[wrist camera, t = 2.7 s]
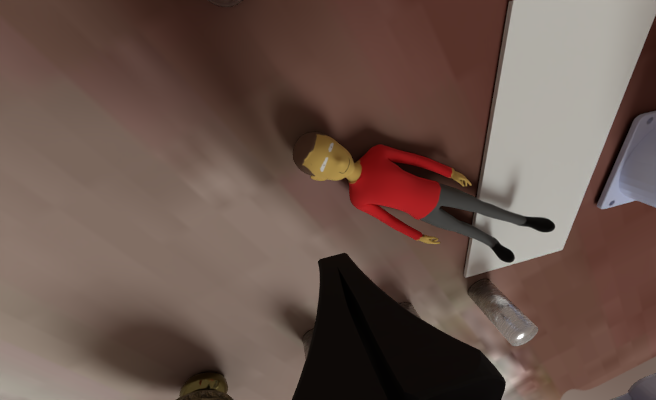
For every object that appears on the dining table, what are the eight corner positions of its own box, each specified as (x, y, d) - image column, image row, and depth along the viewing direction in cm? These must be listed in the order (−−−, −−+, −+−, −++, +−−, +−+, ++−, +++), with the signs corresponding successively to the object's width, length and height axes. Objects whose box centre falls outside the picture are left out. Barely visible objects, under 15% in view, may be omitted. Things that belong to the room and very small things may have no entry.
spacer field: (585, -105, 12) (756, -190, 8) (488, 293, 26) (533, 340, 22) (178, -66, 10) (117, -156, 6) (305, 349, 24) (315, 413, 19)
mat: (663, -22, 15) (670, -24, 15) (559, 247, 25) (562, 249, 25) (508, 1, 14) (513, 0, 14) (463, 275, 24) (465, 277, 24)
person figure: (529, 284, 18) (286, 201, 11) (480, 261, 22) (273, 187, 15) (560, 216, 18) (330, 89, 11) (505, 204, 22) (306, 102, 15)
